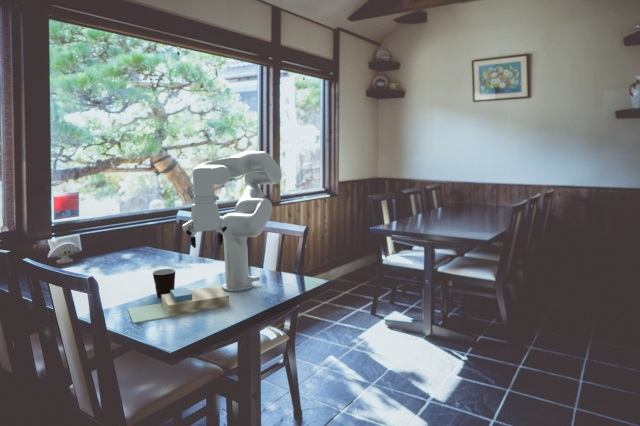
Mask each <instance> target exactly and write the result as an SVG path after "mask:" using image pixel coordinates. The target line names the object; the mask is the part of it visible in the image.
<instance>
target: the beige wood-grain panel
mask: <svg viewBox="0 0 640 426" xmlns="http://www.w3.org/2000/svg"><path fill="white" fill-rule="evenodd" d="M188 290H189V289H188ZM189 291H190V292H191V293H192V300H185V301H179V302H175V301H174V299H173V298H172V296H171V293H169V294H163V295H161V298H160V299H161V303H162V305H163V307H164V308H165V310H166V311H167V313H168V315H169V316H170V317H172V316H180V315H184V314H191V313H195V312H196V313H197V312H202V311H207V310H215V309H220V308H224V307H225V308H226V307H230V295H229V293H227V291H226V290H223V289H222V287H220V286H219V285H217V286H209V287H204V288H197V289H190V290H189Z"/></svg>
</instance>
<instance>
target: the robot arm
mask: <svg viewBox="0 0 640 426" xmlns="http://www.w3.org/2000/svg"><path fill="white" fill-rule="evenodd" d="M242 175H243V176H244V186H245V190H244V193H243V194H242V195H241V197H240V198H239V200H238V201H237V202H236V205H235V207H234V212H229V213H226V214H224V215H223V216H222V217H221V218H220V212H219V211H220V210H219V207H218V203H217V202H216V201H218V200H220V197H219V195H218V196H217V195H216V194H215V186H223V185H226V184H227V183H229V182H230V180H231V179H233V178H238V177H240V176H242ZM282 175H283V173H282V169H281V168H280V166H279V165H278V162H276V160H275V159H274V158H273V157H272V156H271V155H270V154H269V153H268V152H266V151H263V150H262V151H261V150H260V151H259V150H258V151H256V150H253V151H251V150H250V151H249V150H248V151H243V152H240V153H237V154H235V155H231V156H229V157H224V158H219V159H214V160H210V161H206V162H203V163H200V164H198V165H197V166H196V167H194V168H193V170H192V185H193V197H194V198H193V202H194V203H193V204H191V214H190V220H189V221H187V222H186V223H184V224H183V225H182V226H181V228H182V229H183V231H184V232H185V233H186V234H187V235H188V236H189V237H190V238H189V239H190V246H192V247H193V249H196V248H197V241H196V236H195V235H196V234H197V233H199V232H209V231H210V232H211V231H217V232H218V233H217V244H218V245H220V246H222V245H223V248H224V249H223V251H224V271H225V273H224V274H225V283H223V284H222V286H221V289H222V290H223V291H225V292H235V293H236V292H243V291H244V292H245V291H249V290H250V289H252V288H253V282H258V281H259V282H260V281H261V280H260V279H261V277H260V276H259V275H258V276H255V275H251V276H250V275H249V255H248V253H249V252H248V251H249V250H248V243H247V241H246V239H245V238H247V237H248V238H256V237H258V236H260V235H261V234H262V232H263V230H264V229H265V227H266V225H268V222H269V220H270V219H271V217H272V212H273V204H272V202H271V200H270V199H268V198H266V197H264V193H263V191H262V189H261V187H259V185H277V184H279V183H280V182H281V181H282V177H283V176H282ZM190 226H191V227H190ZM189 227H190V228H191V231H189ZM222 243H223V244H222Z"/></svg>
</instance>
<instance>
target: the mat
mask: <svg viewBox="0 0 640 426" xmlns="http://www.w3.org/2000/svg"><path fill="white" fill-rule="evenodd" d="M127 312H128V314H129V316H130V319H131V321H132V324H139V323H145V322H149V321H151V322H152V321H156V320H162V319H168V318H170V317H171V316H169V315H168V313H167V311H166V310H165V308H164V307H163V305H162V302H161V303H155V304H154V303H153V304H148V305H142V306H134V307H128V308H127Z"/></svg>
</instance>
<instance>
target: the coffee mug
mask: <svg viewBox="0 0 640 426" xmlns="http://www.w3.org/2000/svg"><path fill="white" fill-rule="evenodd" d="M152 276H153V282H154V287H155V293H156V296H157V298H158V299H161V295H163V294H169V293H171V292H170V290H175V284H176V270H175V269H174V268H162V269H160V268H159V269H156V270H154V271H152Z"/></svg>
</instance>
